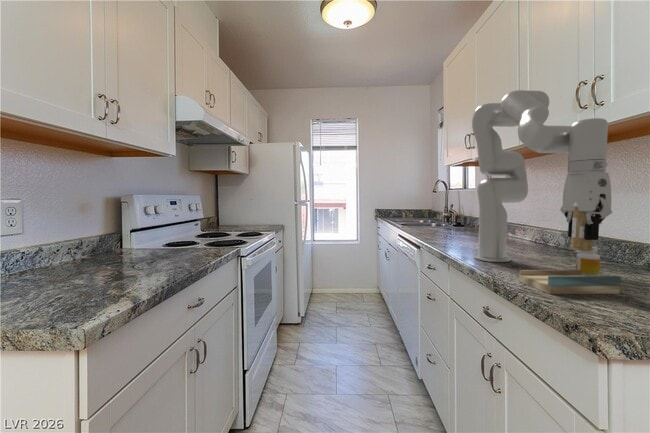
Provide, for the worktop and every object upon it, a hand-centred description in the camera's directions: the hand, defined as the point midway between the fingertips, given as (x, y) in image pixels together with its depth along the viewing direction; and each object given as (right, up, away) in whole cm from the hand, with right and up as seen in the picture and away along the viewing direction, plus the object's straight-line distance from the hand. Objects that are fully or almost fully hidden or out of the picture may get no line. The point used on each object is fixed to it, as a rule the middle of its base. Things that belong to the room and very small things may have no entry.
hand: (582, 237), depth 80 cm
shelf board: (-2, -14, +3) cm, 14 cm away
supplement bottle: (+11, -13, +11) cm, 21 cm away
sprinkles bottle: (0, -4, 0) cm, 4 cm away
